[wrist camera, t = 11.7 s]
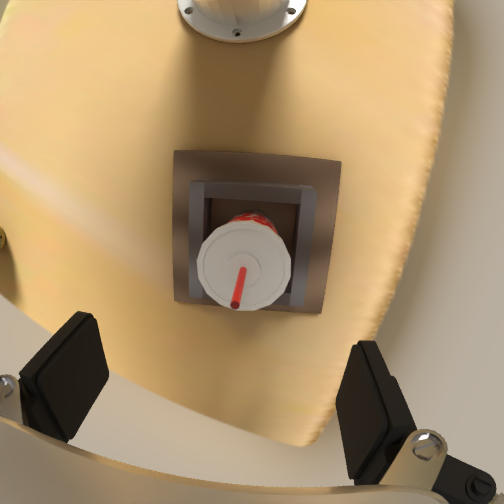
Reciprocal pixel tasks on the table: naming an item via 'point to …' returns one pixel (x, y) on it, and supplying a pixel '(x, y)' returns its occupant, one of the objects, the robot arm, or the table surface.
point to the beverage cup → (244, 262)
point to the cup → (2, 239)
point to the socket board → (264, 200)
